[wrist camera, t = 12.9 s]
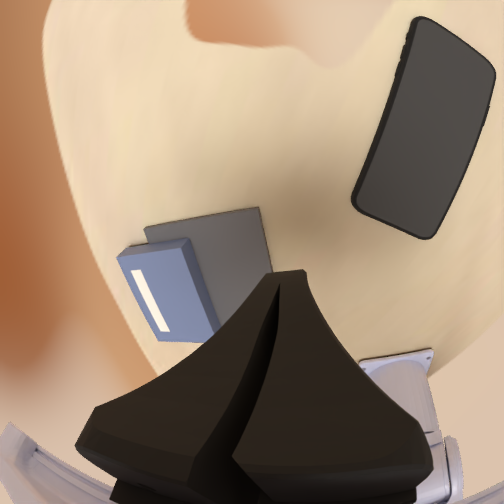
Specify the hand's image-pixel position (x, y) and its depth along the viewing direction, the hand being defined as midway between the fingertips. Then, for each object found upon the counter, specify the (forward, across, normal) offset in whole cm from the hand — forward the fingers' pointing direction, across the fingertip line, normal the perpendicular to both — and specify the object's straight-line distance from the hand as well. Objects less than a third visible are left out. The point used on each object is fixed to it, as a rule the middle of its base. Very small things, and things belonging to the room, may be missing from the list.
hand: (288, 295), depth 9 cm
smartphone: (+10, -10, -4) cm, 15 cm away
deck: (+9, +8, +6) cm, 13 cm away
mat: (+10, +7, +6) cm, 14 cm away
